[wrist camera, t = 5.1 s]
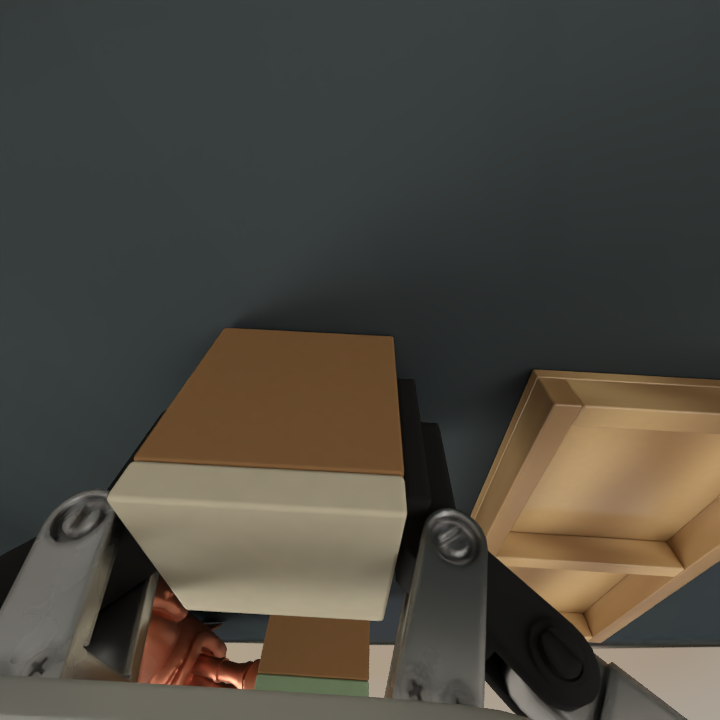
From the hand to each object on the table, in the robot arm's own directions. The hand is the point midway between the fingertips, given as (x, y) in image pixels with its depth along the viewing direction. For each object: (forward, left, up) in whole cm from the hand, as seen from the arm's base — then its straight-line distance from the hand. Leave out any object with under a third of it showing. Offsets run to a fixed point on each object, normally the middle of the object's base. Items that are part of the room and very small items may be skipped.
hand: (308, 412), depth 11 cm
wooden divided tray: (+12, -8, -1) cm, 14 cm away
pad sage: (0, -15, -1) cm, 15 cm away
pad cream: (0, 0, -1) cm, 1 cm away
